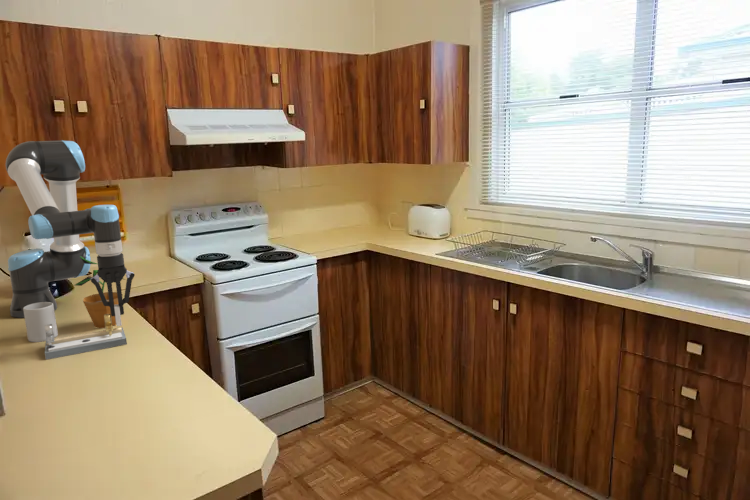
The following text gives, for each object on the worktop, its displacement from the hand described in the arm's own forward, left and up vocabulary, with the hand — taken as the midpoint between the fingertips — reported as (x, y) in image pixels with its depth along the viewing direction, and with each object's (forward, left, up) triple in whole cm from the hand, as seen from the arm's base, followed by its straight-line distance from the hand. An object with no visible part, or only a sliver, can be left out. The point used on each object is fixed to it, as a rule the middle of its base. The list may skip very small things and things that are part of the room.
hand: (118, 324), depth 175 cm
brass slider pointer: (+2, -3, -1) cm, 4 cm away
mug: (-16, -22, -5) cm, 27 cm away
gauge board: (+2, -10, -4) cm, 11 cm away
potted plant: (-17, -3, -5) cm, 18 cm away
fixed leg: (+2, -19, -1) cm, 19 cm away
